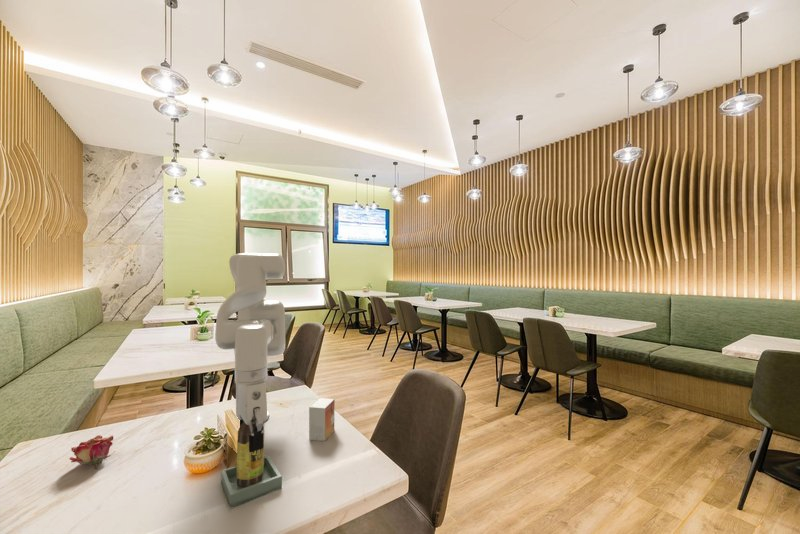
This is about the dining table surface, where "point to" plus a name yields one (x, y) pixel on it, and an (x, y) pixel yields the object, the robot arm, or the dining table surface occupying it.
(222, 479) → the tray
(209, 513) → the dining table surface
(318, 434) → the small box
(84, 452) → the flower
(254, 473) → the sauce bottle
